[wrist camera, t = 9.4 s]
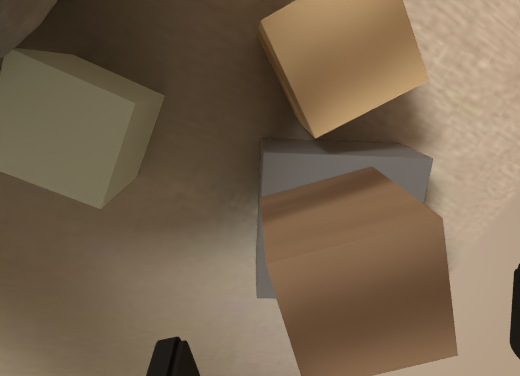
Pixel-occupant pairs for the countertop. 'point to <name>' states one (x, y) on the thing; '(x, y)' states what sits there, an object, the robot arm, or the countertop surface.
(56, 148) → the sage cube
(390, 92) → the oak cube
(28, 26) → the bowl
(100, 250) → the countertop surface
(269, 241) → the walnut cube
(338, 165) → the base block
